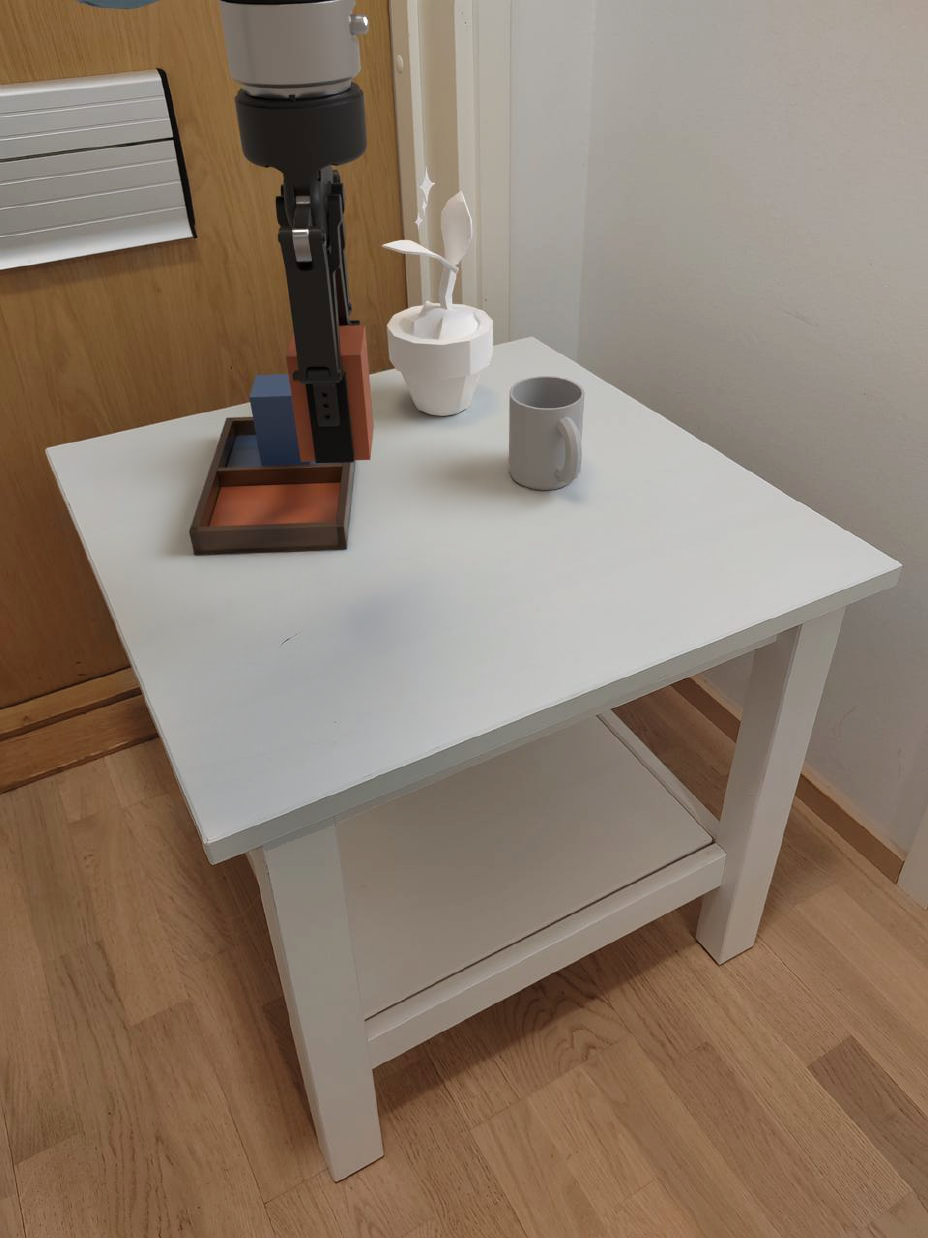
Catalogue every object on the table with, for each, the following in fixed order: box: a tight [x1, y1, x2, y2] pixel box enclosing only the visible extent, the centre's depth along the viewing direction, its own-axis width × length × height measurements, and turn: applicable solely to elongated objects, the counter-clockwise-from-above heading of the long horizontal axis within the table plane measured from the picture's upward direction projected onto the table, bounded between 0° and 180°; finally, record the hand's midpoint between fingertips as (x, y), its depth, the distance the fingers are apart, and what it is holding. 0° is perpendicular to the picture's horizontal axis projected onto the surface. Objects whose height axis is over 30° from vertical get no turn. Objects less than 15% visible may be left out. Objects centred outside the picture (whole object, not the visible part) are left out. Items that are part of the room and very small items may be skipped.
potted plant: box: [381, 165, 494, 417], centre depth 102 cm, size 13×12×25 cm
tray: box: [188, 416, 356, 556], centre depth 95 cm, size 14×22×3 cm, turn 2°
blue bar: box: [249, 373, 311, 466], centre depth 97 cm, size 5×5×8 cm
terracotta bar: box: [285, 324, 375, 462], centre depth 68 cm, size 5×5×8 cm
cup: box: [508, 375, 586, 491], centre depth 94 cm, size 7×10×9 cm
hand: (338, 440), depth 70 cm, fingers closed on terracotta bar, 5 cm apart
